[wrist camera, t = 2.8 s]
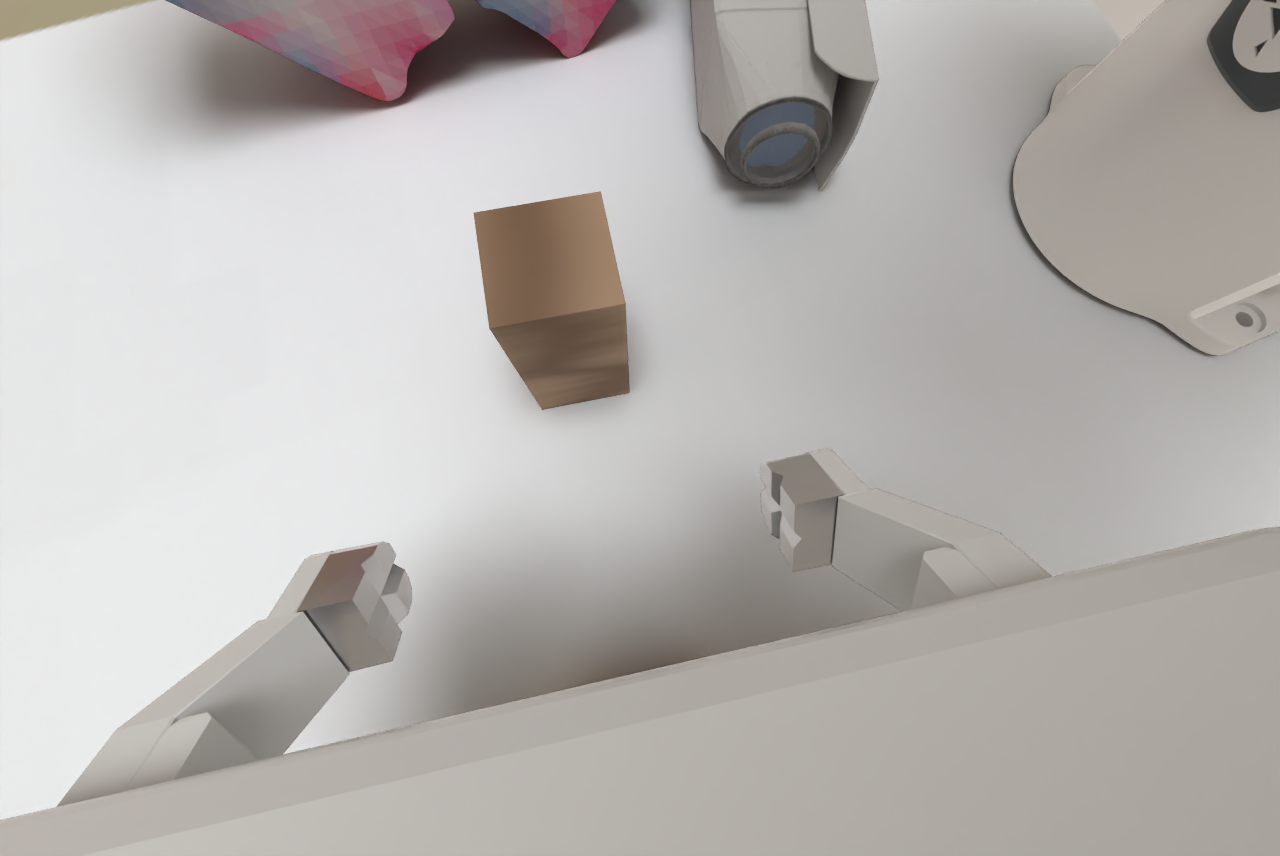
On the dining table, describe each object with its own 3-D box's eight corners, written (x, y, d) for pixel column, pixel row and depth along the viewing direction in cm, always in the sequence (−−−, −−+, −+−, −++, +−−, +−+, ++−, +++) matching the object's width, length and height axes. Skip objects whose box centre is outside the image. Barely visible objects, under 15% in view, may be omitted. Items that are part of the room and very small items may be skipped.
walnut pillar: (612, 314, 26) (600, 191, 17) (629, 392, 24) (625, 303, 16) (529, 329, 25) (473, 212, 17) (542, 409, 24) (489, 328, 16)
